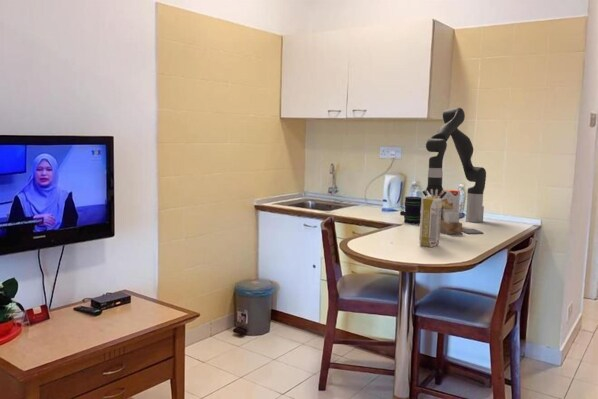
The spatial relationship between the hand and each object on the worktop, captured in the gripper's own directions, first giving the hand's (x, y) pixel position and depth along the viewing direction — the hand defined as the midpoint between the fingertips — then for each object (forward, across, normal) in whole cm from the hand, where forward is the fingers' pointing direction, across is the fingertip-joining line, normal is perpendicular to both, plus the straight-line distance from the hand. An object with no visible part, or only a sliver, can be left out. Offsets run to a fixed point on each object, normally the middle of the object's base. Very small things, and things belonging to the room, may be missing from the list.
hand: (433, 208), depth 281 cm
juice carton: (+14, -2, +33) cm, 36 cm away
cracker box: (+13, -4, -27) cm, 30 cm away
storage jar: (+13, +15, -26) cm, 33 cm away
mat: (+13, -19, -10) cm, 25 cm away
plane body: (+13, -6, -8) cm, 16 cm away
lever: (+7, 0, -7) cm, 10 cm away
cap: (+7, -9, -3) cm, 12 cm away
